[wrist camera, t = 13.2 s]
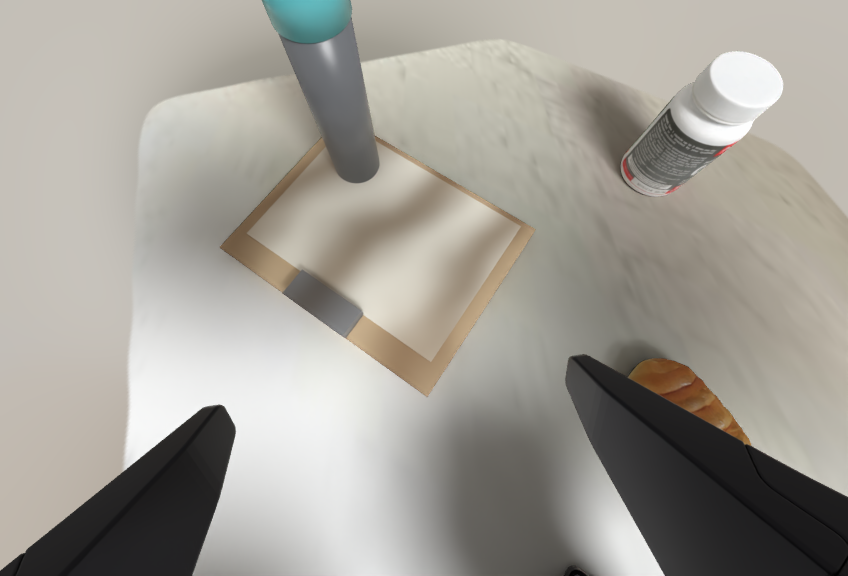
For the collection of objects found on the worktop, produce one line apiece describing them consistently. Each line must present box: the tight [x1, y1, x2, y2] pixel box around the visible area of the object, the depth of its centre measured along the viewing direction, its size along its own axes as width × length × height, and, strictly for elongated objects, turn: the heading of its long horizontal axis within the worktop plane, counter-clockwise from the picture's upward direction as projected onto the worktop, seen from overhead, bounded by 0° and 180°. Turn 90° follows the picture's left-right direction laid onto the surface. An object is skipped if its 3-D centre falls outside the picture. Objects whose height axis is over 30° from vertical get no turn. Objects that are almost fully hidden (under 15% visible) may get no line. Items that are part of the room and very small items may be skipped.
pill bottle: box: [621, 51, 783, 197], centre depth 22 cm, size 5×5×8 cm
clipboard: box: [220, 136, 536, 397], centre depth 24 cm, size 18×14×2 cm
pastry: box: [628, 358, 751, 446], centre depth 19 cm, size 9×7×4 cm
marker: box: [262, 0, 380, 183], centre depth 19 cm, size 4×4×14 cm
